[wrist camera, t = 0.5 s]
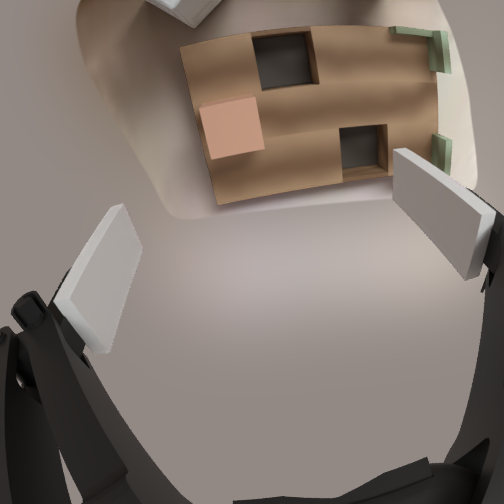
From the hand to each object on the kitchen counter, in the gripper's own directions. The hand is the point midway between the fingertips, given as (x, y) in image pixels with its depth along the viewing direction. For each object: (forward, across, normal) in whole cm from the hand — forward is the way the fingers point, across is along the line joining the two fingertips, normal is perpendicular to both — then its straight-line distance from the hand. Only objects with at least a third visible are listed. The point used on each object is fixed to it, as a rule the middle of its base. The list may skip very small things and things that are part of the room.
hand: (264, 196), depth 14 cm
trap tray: (+22, +9, 0) cm, 24 cm away
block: (+19, -1, 0) cm, 19 cm away
